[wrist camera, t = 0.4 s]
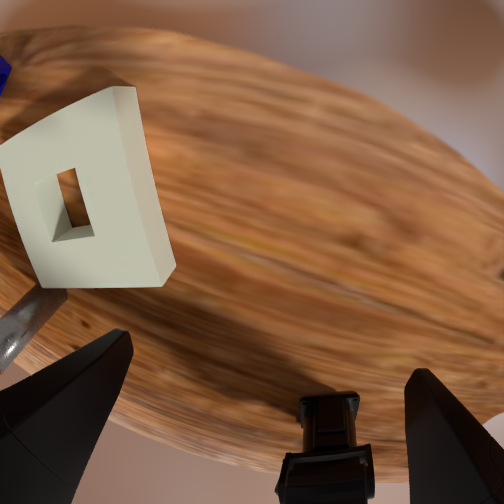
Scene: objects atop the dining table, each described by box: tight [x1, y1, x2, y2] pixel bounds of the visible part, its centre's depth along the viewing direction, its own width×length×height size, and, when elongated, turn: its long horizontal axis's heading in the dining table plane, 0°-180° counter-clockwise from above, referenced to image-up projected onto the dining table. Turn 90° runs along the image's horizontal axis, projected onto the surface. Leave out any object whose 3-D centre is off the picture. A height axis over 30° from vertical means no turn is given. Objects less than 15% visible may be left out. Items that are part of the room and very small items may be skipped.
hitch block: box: [0, 86, 176, 288], centre depth 20 cm, size 14×14×3 cm
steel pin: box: [0, 282, 67, 377], centre depth 21 cm, size 4×4×13 cm
